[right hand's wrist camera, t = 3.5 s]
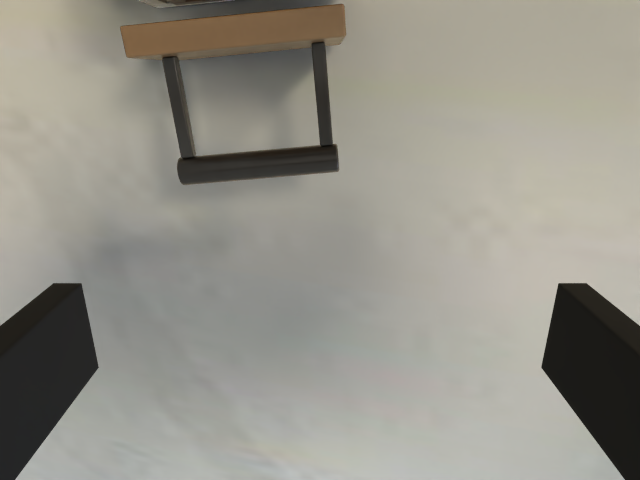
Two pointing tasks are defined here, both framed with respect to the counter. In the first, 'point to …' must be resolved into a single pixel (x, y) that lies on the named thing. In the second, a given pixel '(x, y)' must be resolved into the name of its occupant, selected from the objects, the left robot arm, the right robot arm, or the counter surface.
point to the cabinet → (168, 3)
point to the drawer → (234, 39)
